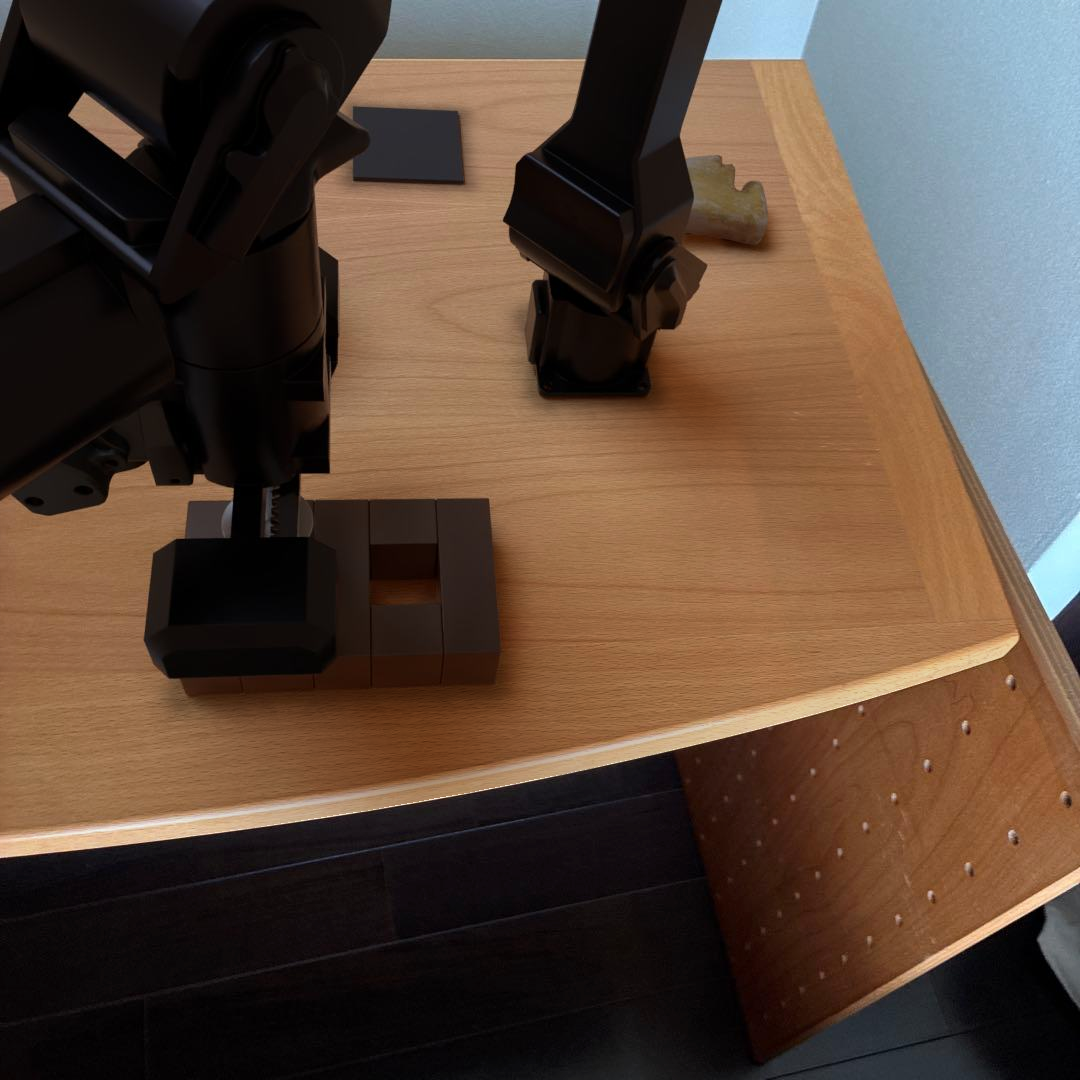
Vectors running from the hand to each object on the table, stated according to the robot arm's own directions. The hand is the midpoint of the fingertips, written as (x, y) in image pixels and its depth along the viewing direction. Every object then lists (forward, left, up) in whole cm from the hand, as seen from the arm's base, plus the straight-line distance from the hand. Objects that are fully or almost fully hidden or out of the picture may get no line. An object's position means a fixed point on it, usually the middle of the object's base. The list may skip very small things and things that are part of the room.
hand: (274, 555), depth 49 cm
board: (-3, 0, -5) cm, 6 cm away
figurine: (-22, -28, -5) cm, 36 cm away
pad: (-7, -34, -5) cm, 35 cm away
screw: (0, 0, -5) cm, 5 cm away
